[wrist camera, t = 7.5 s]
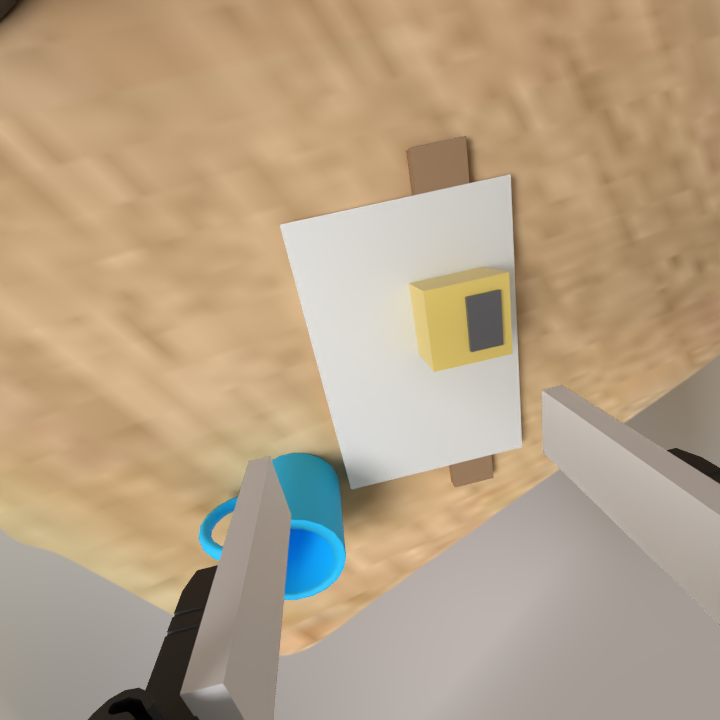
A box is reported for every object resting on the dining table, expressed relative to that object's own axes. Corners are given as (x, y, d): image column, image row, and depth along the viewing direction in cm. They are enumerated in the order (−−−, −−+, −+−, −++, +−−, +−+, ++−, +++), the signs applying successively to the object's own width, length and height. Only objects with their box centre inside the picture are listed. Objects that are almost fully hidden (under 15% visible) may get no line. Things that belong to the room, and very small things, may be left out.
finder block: (408, 283, 27) (424, 292, 23) (482, 266, 27) (511, 272, 23) (419, 354, 29) (435, 373, 25) (487, 338, 30) (514, 355, 26)
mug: (337, 448, 33) (344, 514, 26) (340, 516, 36) (347, 593, 28) (205, 459, 32) (171, 531, 24) (219, 529, 35) (192, 612, 27)
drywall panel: (269, 180, 25) (267, 178, 24) (500, 130, 25) (508, 126, 24) (356, 504, 36) (357, 513, 34) (516, 464, 36) (523, 471, 35)
